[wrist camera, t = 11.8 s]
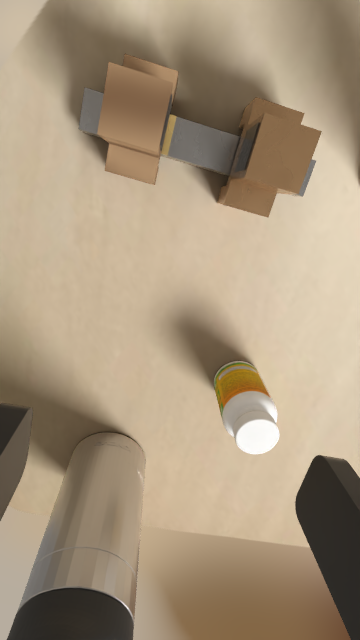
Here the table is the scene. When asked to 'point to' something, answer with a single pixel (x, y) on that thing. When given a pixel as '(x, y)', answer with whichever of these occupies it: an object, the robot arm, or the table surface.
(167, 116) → the tan stepped block
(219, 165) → the rail
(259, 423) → the supplement bottle
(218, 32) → the table surface
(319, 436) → the table surface
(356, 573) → the robot arm
